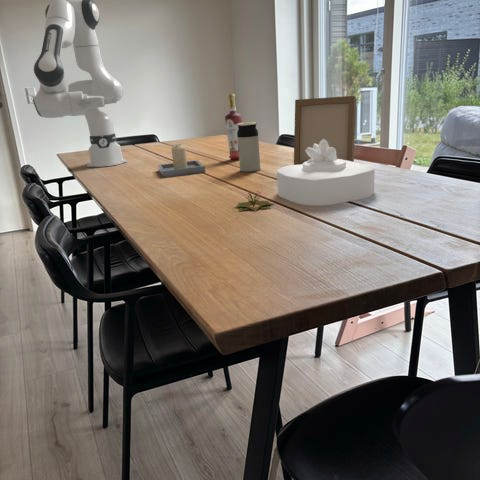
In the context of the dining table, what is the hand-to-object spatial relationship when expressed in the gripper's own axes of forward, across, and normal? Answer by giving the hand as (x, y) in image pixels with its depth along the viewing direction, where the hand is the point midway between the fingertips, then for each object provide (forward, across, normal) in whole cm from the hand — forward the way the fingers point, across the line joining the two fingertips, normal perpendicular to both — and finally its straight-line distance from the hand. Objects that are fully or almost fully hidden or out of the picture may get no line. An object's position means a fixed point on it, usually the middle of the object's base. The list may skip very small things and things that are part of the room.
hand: (116, 100), depth 180 cm
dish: (+21, -4, +30) cm, 37 cm away
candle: (+21, -4, +29) cm, 36 cm away
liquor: (+48, +9, +30) cm, 58 cm away
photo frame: (+74, -29, +30) cm, 85 cm away
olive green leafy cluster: (+32, -72, +31) cm, 85 cm away
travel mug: (+46, -20, +30) cm, 59 cm away
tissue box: (+55, -69, +31) cm, 94 cm away
